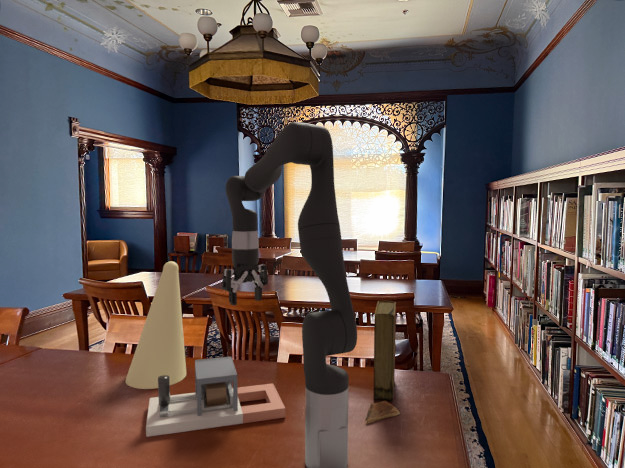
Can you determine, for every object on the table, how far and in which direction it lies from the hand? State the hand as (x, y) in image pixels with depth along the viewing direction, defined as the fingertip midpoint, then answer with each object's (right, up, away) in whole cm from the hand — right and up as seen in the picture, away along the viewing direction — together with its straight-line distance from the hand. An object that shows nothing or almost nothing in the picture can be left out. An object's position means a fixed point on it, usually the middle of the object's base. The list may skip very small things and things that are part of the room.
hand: (246, 302), depth 130 cm
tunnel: (-7, -25, -9) cm, 28 cm away
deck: (-6, -28, -10) cm, 30 cm away
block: (-6, -25, -10) cm, 28 cm away
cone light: (-30, -25, +17) cm, 43 cm away
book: (+41, -27, +4) cm, 49 cm away
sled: (-11, -25, -12) cm, 30 cm away
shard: (+38, -29, -11) cm, 49 cm away
